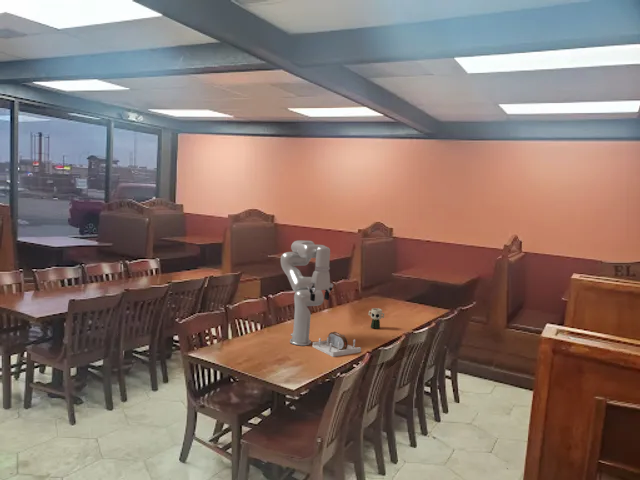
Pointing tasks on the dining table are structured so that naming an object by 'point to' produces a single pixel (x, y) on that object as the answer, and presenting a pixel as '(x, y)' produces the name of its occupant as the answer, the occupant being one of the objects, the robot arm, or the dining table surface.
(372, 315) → the character mug
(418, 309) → the dining table surface
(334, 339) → the tin
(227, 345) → the dining table surface
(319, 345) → the dish rack
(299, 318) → the robot arm
